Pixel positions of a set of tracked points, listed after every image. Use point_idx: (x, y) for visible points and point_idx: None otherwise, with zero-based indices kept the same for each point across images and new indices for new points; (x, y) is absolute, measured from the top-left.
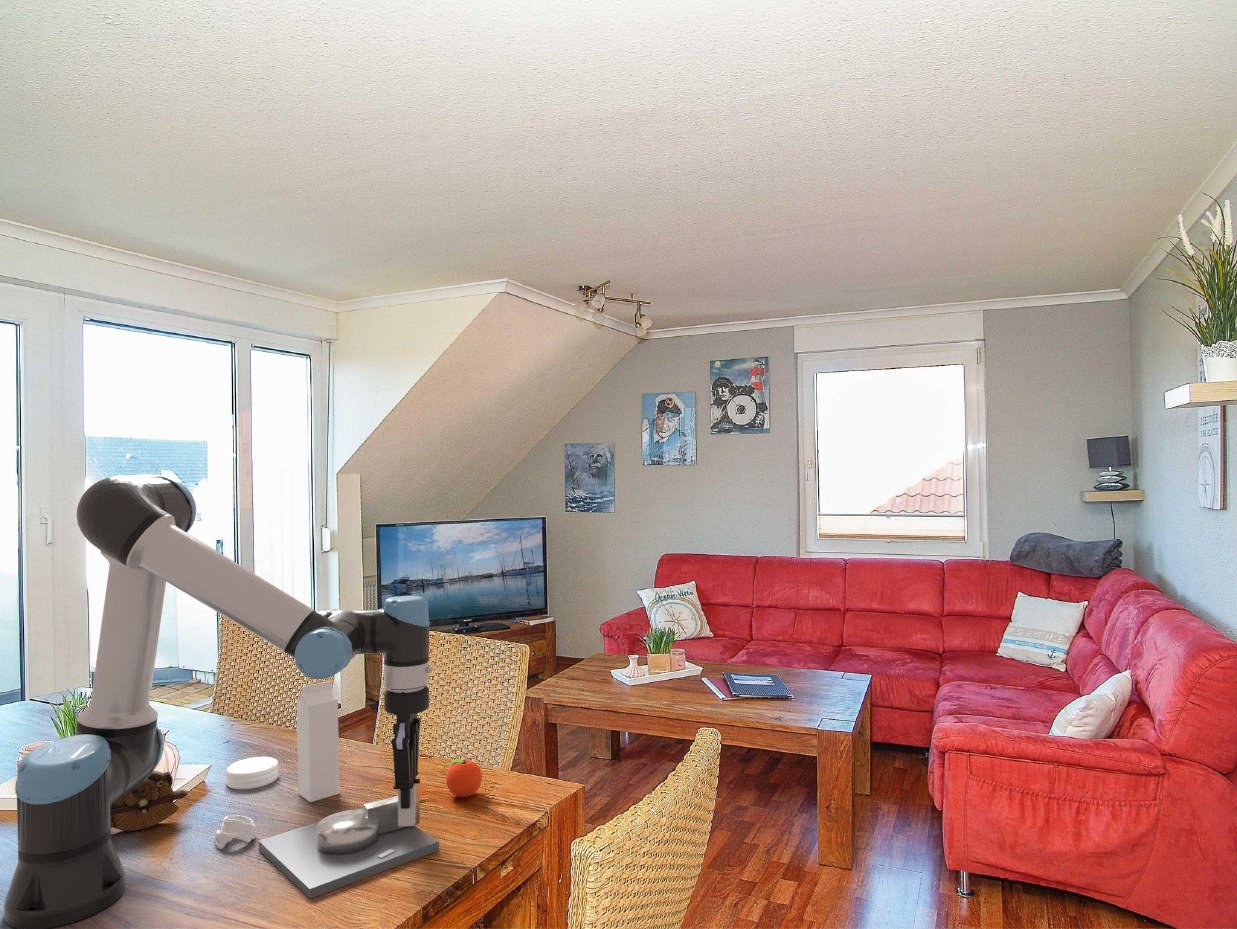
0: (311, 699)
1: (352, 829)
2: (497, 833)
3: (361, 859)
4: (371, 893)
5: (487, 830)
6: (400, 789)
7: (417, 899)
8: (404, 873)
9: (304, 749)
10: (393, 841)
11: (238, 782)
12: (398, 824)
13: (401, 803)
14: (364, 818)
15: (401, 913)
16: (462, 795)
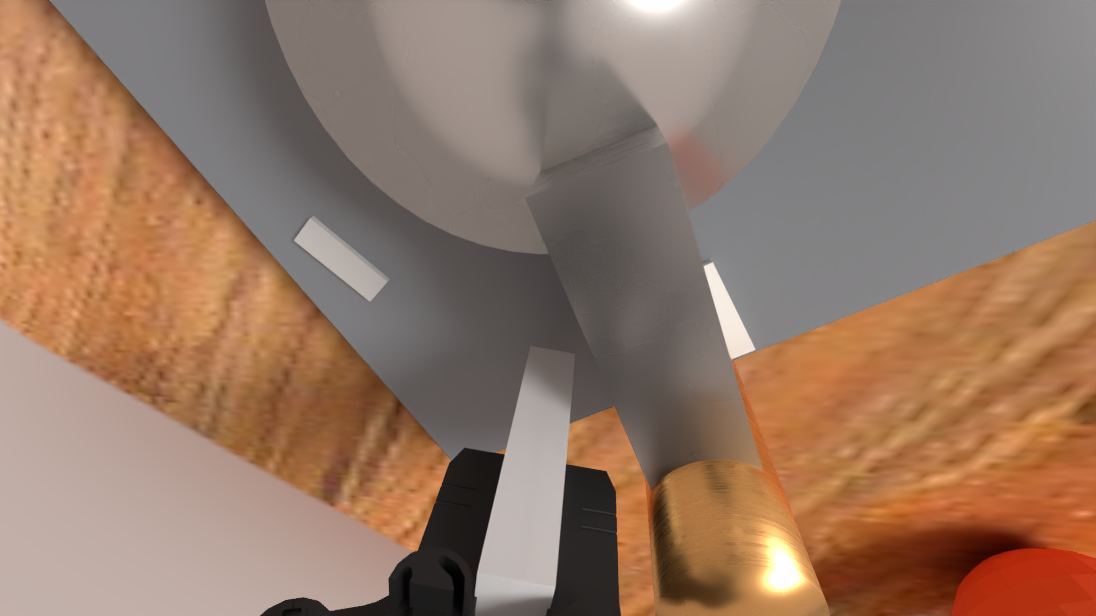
0: None
1: (371, 51)
2: None
3: (284, 128)
4: (103, 190)
5: None
6: (380, 600)
7: (103, 356)
8: (280, 316)
9: None
10: (490, 290)
11: None
12: (528, 354)
13: (445, 484)
14: (583, 139)
15: (3, 306)
16: (964, 579)
